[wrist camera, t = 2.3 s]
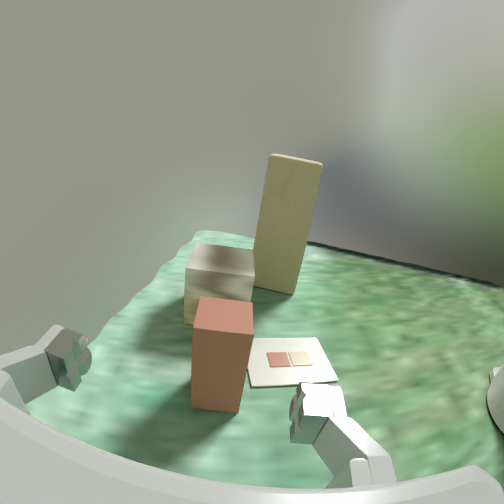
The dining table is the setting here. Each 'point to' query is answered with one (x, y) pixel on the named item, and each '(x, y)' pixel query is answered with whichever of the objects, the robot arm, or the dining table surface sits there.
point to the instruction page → (288, 362)
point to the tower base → (217, 276)
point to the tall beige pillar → (284, 221)
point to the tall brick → (220, 353)
